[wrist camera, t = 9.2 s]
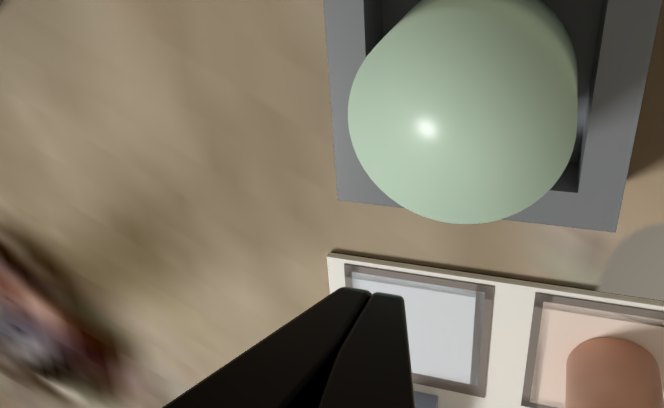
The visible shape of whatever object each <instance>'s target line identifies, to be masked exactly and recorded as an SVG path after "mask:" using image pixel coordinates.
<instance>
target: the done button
mask: <svg viewBox="0 0 664 408" xmlns="http://www.w3.org/2000/svg"><path fill="white" fill-rule="evenodd" d="M577 91H578V71H577V59H576V54H575V50H574V46H573V43H572V41H571V38H570V36H569V34H568V32H567V30H566V28H565V27H564V25H563V23H562V22H561V20H560V19H559V18H558V17H557V15H556V14H555V13H554V12H553V11H552V10H551V9H550V8H549V7H548V6H547V5H546V4H545V3H544V2H542V1H541V0H421V1H420V2H419V3H417V4H416V5H415V6H414V7H413V8H412V9H411V10H410V11H409V12H408V13H407V14H406V15H405V16H404V17H403V18H402V19H401V20H400V21H399V22H398V23H397V24H396V25H395V26H394V27H393V28H392V29H391V30H390V31H389V32H388V34H387V35H386V36H385V37H384V38H383V39H382V40H381V41H380V42H379V43H378V44H377V45H376V46H375V47H374V48H373V50H372V51H371V52H370V53H369V54H368V56H367V57H366V58H365V60H364V61H363V63H362V65H361V66H360V68H359V70H358V72H357V74H356V77H355V79H354V81H353V85H352V88H351V91H350V96H349V103H348V126H349V133H350V137H351V141H352V145H353V148H354V150H355V153H356V155H357V158H358V159H359V161H360V163H361V165H362V167H363V169H364V170H365V171H366V173H367V174H368V176H369V177H370V178H371V180H372V181H373V182H374V183H375V184H376V185H377V186H378V188H379V189H380V190H381V191H383V192H384V193H385V194H386V195H387V196H388V197H389V198H391V199H392V200H394V201H395V202H396V203H398V204H399V205H401V206H403V207H404V208H406V209H408V210H410V211H412V212H414V213H416V214H419V215H421V216H424V217H426V218H430V219H433V220H437V221H441V222H447V223H454V224H480V223H486V222H492V221H496V220H499V219H503V218H506V217H509V216H511V215H514V214H516V213H518V212H520V211H522V210H524V209H526V208H527V207H529V206H531V205H532V204H534V203H535V202H536V201H538V200H539V199H540V198H542V197H543V196H544V195H545V194H546V193H547V192H548V191H549V190H550V189H551V188H552V187H553V186H554V184H555V183H556V182H557V180H558V179H559V178H560V176H561V175H562V173H563V171H564V170H565V168H566V166H567V164H568V162H569V159H570V157H571V154H572V152H573V148H574V144H575V140H576V133H577Z"/></svg>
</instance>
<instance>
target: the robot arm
mask: <svg viewBox="0 0 664 408" xmlns="http://www.w3.org/2000/svg"><path fill="white" fill-rule="evenodd" d="M162 408H416V407H415V398H414V388H413V379H412V369H411V360H410V350H409V341H408V331H407V321H406V312H405V303H404V299H403V297H402V296H400V295H394V294H388V293H382V292H375V293H373V294H372V293H371V292H370V291H368V290H364V289H358V288H352V287H341V288H339V289H337V290H336V291H334V292H333V293H331V294H330V295H328V296H327V297H325V298H324V299H322V300H321V301H319V302H318V303H316V304H315V305H313V306H312V307H311V308H309V309H308V310H306V311H305V312H303V313H302V314H300V315H299V316H297V317H296V318H294V319H293V320H291V321H290V322H288V323H287V324H285V325H284V326H282V327H281V328H279V329H278V330H276V331H275V332H273V333H272V334H271V335H269V336H268V337H266V338H265V339H263V340H262V341H260V342H259V343H257V344H256V345H254V346H253V347H251V348H250V349H248V350H247V351H245V352H244V353H242V354H241V355H239V356H238V357H236V358H235V359H233V360H232V361H231V362H229V363H228V364H226V365H225V366H223V367H222V368H220V369H219V370H217V371H216V372H214V373H213V374H211V375H210V376H208V377H207V378H205V379H204V380H202V381H201V382H199V383H198V384H196V385H195V386H194V387H192V388H191V389H189V390H188V391H186V392H185V393H183V394H182V395H180V396H179V397H177V398H176V399H174V400H173V401H171V402H170V403H168V404H167V405H165V406H164V407H162Z"/></svg>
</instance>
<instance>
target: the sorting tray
mask: <svg viewBox="0 0 664 408" xmlns="http://www.w3.org/2000/svg"><path fill="white" fill-rule="evenodd" d="M327 264H328V275H329V287H330V294H331V293H333V292H334V291H336V290H337V289H339V288H341V287H352V288H358V289H364V290H368V291H370V292H371V293H372V294H373V293H375V292H382V293H388V294H394V295H400V296H402V297H403V299H404V303H405V312H406V321H407V331H408V341H409V350H410V360H411V369H412V379H413V388H414V391H418V392H423V393H427V394H432V395H437V396H438V408H565V400H566V362H567V358H568V356H569V354H570V353H571V351H572V350H573V349H574V348H575V347H577V346H578V345H580V344H582V343H584V342H586V341H589V340H592V339H597V338H618V339H623V340H627V341H630V342H633V343H635V344H637V345H639V346H641V347H643V348H644V349H646V350H647V351H648V352H650V353H651V354H652V356H653V357H654V358H655V360H656V361H657V363H658V366H659V370H660V377H661V384H662V391H663V398H664V301H660V300H653V299H645V298H639V297H633V296H626V295H619V294H612V293H605V292H598V291H591V290H585V289H578V288H571V287H564V286H557V285H550V284H543V283H536V282H530V281H523V280H516V279H509V278H502V277H495V276H488V275H482V274H475V273H468V272H461V271H454V270H447V269H440V268H433V267H427V266H420V265H413V264H406V263H399V262H392V261H385V260H378V259H372V258H365V257H358V256H351V255H344V254H337V253H330V252H329V254H328V256H327Z"/></svg>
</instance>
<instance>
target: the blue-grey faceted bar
mask: <svg viewBox="0 0 664 408" xmlns="http://www.w3.org/2000/svg"><path fill="white" fill-rule="evenodd" d="M414 398H415V407H416V408H438V396H437V395H432V394H427V393H423V392H418V391H414Z"/></svg>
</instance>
